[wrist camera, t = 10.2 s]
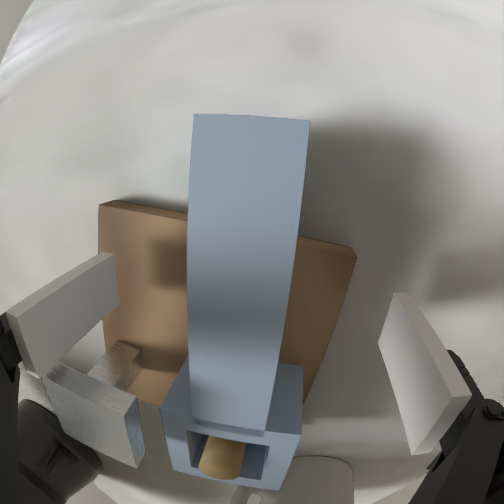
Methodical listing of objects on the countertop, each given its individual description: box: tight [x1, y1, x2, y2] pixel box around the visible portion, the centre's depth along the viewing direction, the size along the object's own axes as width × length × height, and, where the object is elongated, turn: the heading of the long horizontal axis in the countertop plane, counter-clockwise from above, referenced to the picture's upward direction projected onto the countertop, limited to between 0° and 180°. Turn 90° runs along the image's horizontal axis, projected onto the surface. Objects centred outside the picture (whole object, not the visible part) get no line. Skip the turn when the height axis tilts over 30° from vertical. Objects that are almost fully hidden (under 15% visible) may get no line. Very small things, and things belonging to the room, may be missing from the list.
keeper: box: [41, 340, 146, 469], centre depth 13 cm, size 5×5×7 cm
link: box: [159, 114, 310, 490], centre depth 13 cm, size 18×6×5 cm, turn 176°
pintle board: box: [98, 200, 357, 480], centre depth 14 cm, size 14×14×8 cm
